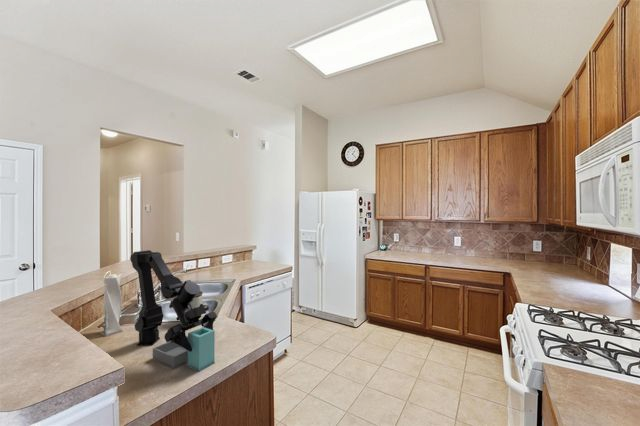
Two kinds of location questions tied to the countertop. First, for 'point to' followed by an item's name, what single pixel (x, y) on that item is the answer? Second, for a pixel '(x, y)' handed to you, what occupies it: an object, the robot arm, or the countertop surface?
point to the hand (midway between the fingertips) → (202, 345)
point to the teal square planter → (201, 348)
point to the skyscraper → (112, 304)
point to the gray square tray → (170, 354)
